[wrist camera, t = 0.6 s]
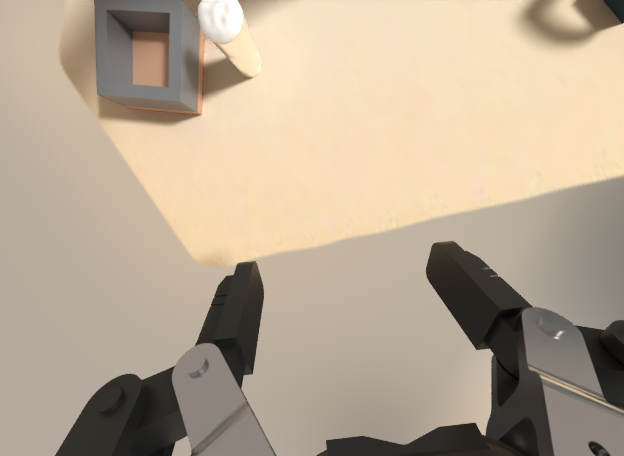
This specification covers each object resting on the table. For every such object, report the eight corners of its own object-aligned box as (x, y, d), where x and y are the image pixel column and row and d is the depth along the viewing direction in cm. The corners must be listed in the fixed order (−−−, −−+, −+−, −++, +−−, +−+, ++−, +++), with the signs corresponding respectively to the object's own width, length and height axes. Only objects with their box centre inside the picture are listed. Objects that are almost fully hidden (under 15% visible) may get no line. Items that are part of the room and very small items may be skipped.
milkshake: (227, 81, 31) (177, 26, 21) (241, 40, 30) (195, -37, 20) (257, 94, 30) (220, 45, 21) (271, 54, 30) (241, -17, 20)
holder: (128, 23, 31) (94, -6, 26) (204, 28, 30) (182, -2, 25) (129, 108, 32) (97, 94, 28) (201, 114, 32) (180, 101, 27)
